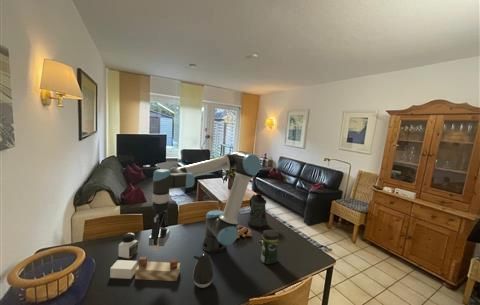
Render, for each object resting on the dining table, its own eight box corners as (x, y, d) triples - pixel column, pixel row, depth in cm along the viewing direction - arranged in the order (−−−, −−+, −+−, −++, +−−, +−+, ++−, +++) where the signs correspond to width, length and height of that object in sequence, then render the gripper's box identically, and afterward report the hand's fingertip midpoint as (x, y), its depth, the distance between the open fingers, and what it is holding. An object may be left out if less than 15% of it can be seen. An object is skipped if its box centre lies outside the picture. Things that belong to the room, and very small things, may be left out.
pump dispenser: (193, 276, 106) (194, 248, 104) (213, 276, 107) (215, 248, 105) (190, 291, 96) (191, 260, 94) (212, 291, 97) (214, 261, 95)
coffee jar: (272, 255, 128) (275, 227, 126) (278, 263, 121) (281, 233, 119) (258, 257, 126) (261, 228, 124) (263, 265, 118) (266, 234, 116)
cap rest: (137, 269, 107) (137, 260, 106) (131, 278, 101) (131, 269, 100) (117, 268, 107) (117, 259, 106) (110, 277, 100) (110, 268, 100)
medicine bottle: (129, 259, 115) (129, 238, 114) (118, 256, 117) (118, 236, 115) (137, 251, 122) (138, 232, 121) (127, 249, 124) (127, 230, 122)
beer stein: (261, 231, 158) (264, 200, 155) (240, 224, 168) (242, 194, 165) (270, 224, 172) (273, 195, 169) (250, 217, 182) (252, 190, 179)
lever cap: (169, 236, 107) (169, 227, 106) (163, 246, 98) (163, 236, 97) (155, 235, 107) (156, 226, 106) (148, 245, 98) (148, 235, 97)
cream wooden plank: (179, 272, 108) (180, 255, 107) (176, 280, 101) (177, 263, 100) (141, 270, 107) (141, 253, 106) (135, 279, 101) (135, 261, 100)
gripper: (160, 193, 111) (159, 233, 113) (143, 209, 89) (142, 258, 92) (175, 194, 111) (173, 234, 114) (160, 210, 89) (159, 258, 92)
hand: (159, 244), depth 103 cm, fingers closed on lever cap, 9 cm apart
